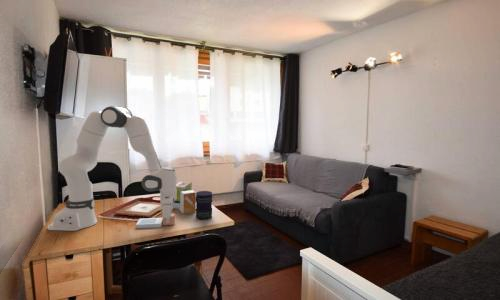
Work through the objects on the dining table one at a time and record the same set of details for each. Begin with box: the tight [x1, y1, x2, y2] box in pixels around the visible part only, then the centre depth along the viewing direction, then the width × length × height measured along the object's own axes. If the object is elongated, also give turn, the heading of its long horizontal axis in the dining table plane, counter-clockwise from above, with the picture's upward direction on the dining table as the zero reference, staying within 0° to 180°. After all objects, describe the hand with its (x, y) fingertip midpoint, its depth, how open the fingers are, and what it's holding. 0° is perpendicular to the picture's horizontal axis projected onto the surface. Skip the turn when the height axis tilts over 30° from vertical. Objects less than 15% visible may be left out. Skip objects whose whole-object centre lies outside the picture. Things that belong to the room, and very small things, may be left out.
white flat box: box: [135, 217, 163, 229], centre depth 150 cm, size 13×9×2 cm
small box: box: [179, 189, 196, 215], centre depth 171 cm, size 8×6×13 cm
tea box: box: [173, 181, 193, 209], centre depth 184 cm, size 15×10×15 cm, turn 172°
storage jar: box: [195, 190, 213, 221], centre depth 162 cm, size 10×10×15 cm
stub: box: [162, 212, 176, 226], centre depth 151 cm, size 6×5×5 cm
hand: (168, 220), depth 151 cm, fingers closed on stub, 5 cm apart
